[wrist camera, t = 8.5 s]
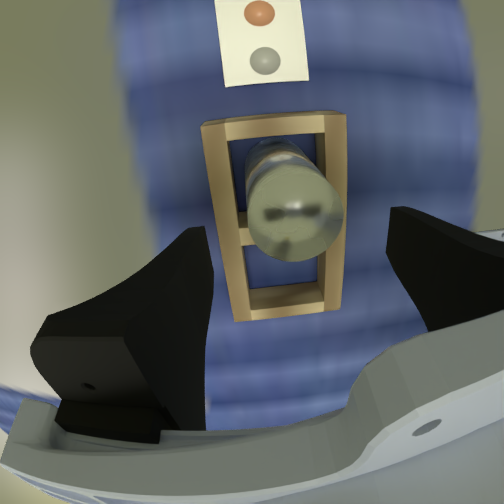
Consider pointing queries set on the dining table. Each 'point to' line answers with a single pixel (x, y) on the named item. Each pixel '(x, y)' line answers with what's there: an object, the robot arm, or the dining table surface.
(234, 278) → the tan frame
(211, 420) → the dining table surface
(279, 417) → the dining table surface
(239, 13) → the key card
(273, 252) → the pin
